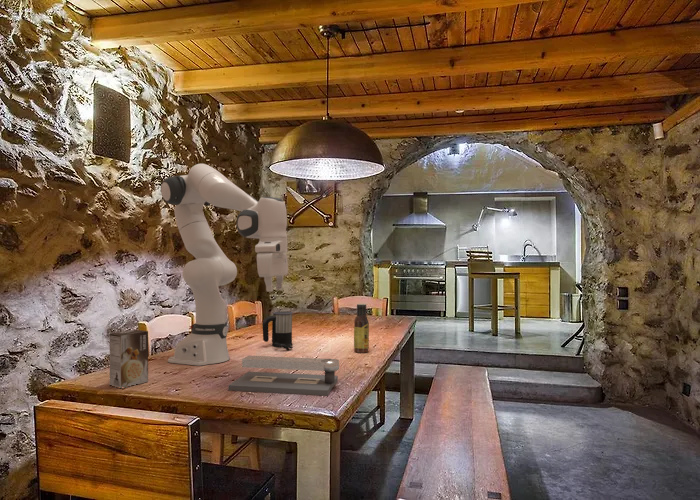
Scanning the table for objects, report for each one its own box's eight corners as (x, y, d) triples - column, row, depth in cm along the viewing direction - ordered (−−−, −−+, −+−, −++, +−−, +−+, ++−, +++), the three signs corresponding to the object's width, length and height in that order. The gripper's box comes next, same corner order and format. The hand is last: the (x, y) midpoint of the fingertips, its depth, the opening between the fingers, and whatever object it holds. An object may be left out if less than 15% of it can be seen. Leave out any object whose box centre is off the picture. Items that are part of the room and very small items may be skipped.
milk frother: (283, 342, 203) (283, 310, 204) (307, 347, 193) (307, 313, 194) (258, 347, 192) (259, 313, 193) (283, 352, 182) (283, 316, 183)
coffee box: (136, 379, 142) (137, 329, 142) (148, 382, 138) (149, 331, 139) (108, 386, 134) (109, 333, 134) (120, 389, 131) (121, 335, 131)
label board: (228, 390, 130) (228, 373, 130) (248, 376, 146) (248, 360, 146) (329, 395, 126) (329, 378, 126) (339, 380, 141) (339, 364, 141)
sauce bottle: (367, 353, 181) (367, 305, 181) (352, 353, 182) (352, 304, 182) (369, 350, 187) (370, 303, 188) (355, 349, 188) (355, 303, 189)
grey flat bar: (241, 367, 135) (241, 359, 135) (248, 363, 141) (248, 355, 141) (337, 371, 131) (337, 363, 131) (340, 367, 136) (340, 359, 136)
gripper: (274, 248, 151) (275, 288, 151) (252, 246, 131) (253, 293, 130) (292, 247, 150) (293, 288, 150) (273, 245, 130) (274, 292, 129)
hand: (274, 290), depth 140 cm, fingers open, 8 cm apart
